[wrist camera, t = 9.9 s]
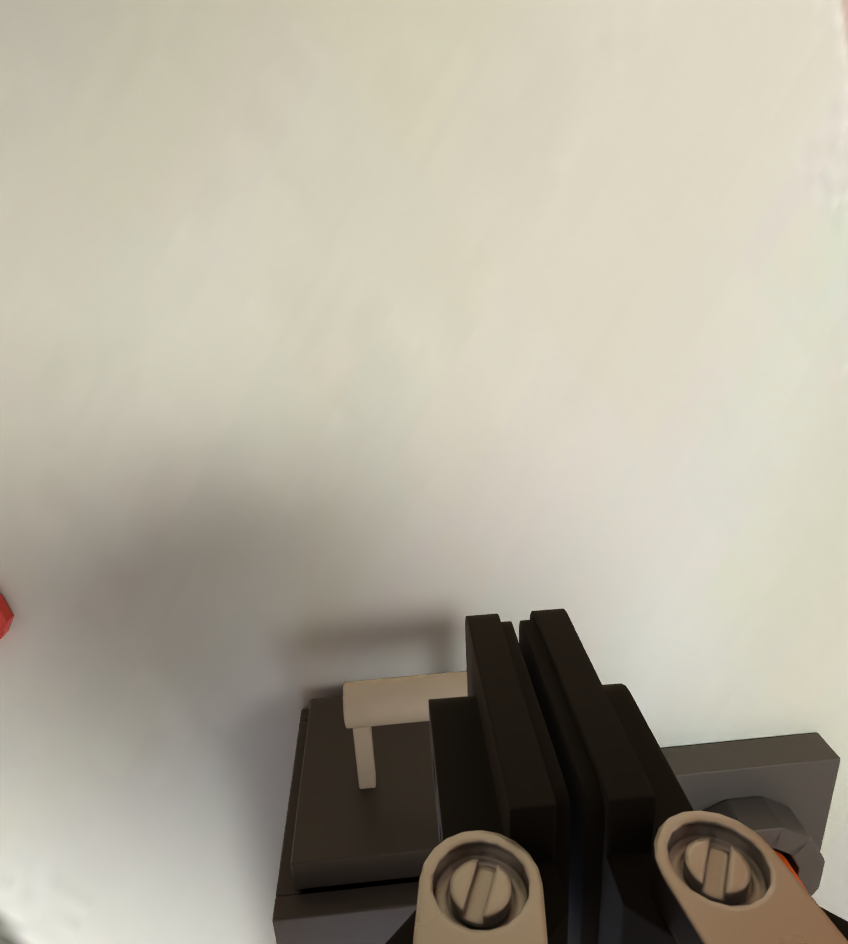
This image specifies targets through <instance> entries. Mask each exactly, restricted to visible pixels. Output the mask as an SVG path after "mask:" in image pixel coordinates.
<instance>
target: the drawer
mask: <svg viewBox="0 0 848 944" xmlns="http://www.w3.org/2000/svg"><path fill="white" fill-rule="evenodd" d="M463 696H468V693H467V671H460V672H449V673H438V674H427V675H416V676H405V677H394V678H383V679H372V680H361V681H351V682H345V683H344V685H343V696H342V697H331V698H320V699H312V700H311V701H310V708H309V716H308V725H307V733H306V741H305V749H304V757H303V766H302V774H301V782H300V790H299V798H298V807H297V815H296V823H295V831H294V839H293V847H292V856H291V869H292V875H293V881H294V887H295V889H306V888H315V887H323V892H326V891H336V890H345V889H354V888H363V887H373V886H382V885H391V884H400V883H409V882H419V879H420V876H421V872H422V869H423V865H424V862H425V861H426V859H427V858H428V856H429V855H430V853H431V852H432V851H433V849H434V848H435V847H437V846H438V845H439V833H438V823H437V813H436V802H435V792H434V780H433V768H432V755H431V740H430V724H429V705H428V700H429V699H439V698H451V697H463Z"/></svg>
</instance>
